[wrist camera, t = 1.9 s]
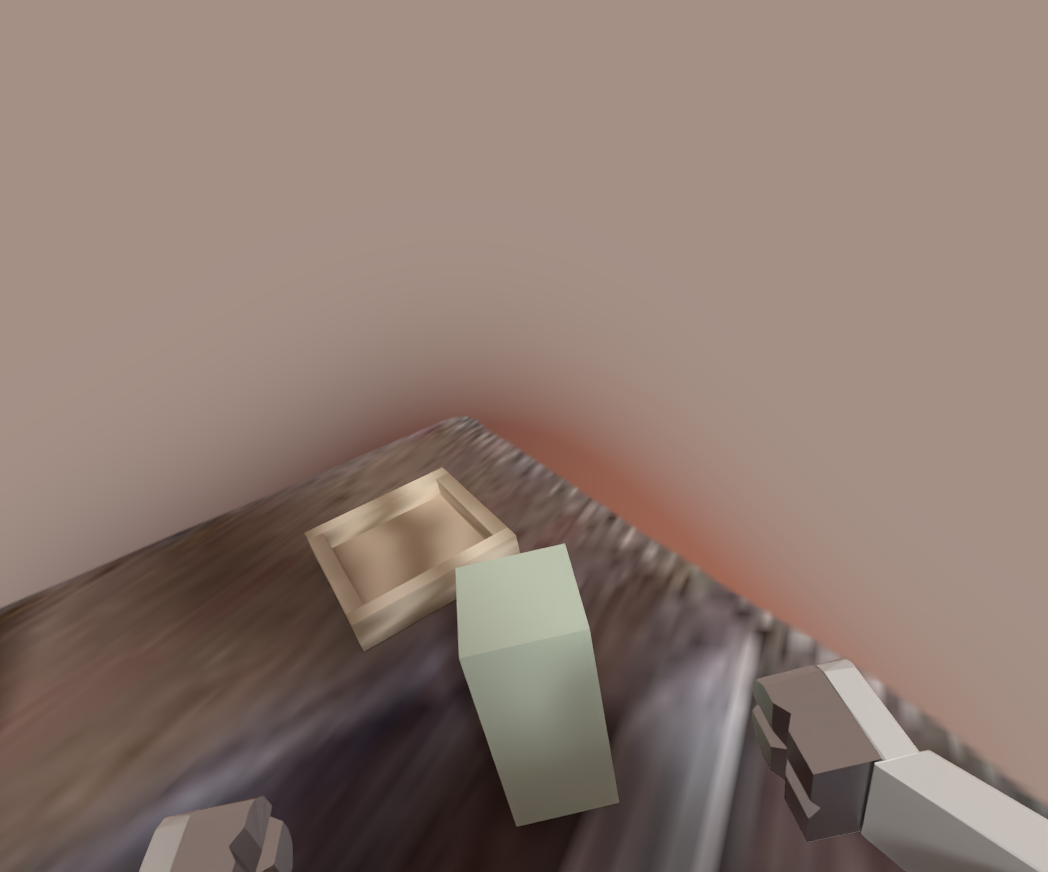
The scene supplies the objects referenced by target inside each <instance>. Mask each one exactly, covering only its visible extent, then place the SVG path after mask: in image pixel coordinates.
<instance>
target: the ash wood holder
mask: <svg viewBox="0 0 1048 872" xmlns="http://www.w3.org/2000/svg"><path fill="white" fill-rule="evenodd" d="M305 536H306V538H307V540H308V542H309V544H310V546H311V549H312V551H313V553H314V555H315V557H316V559H317V561H318V563H319V565H320V567H321V569H322V571H323V573H324V575H325V577H326V579H327V581H328V583H329V585H330V587H331V589H332V591H333V592H334V594H335V596H336V598H337V600H338V602H339V604H340V606H341V608H342V610H343V612H344V614H345V616H346V618H347V620H348V622H349V624H350V626H351V628H352V630H353V632H354V634H355V636H356V638H357V640H358V642H359V644H360V645H361V647H362V649H363V651H364V652H365V651H366V650H368V649H370V648H372V647H373V646H375V645H377V644H379V643H380V642H382V641H384V640H386V639H387V638H389V637H391V636H393V635H394V634H396V633H398V632H400V631H401V630H403V629H405V628H407V627H408V626H410V625H412V624H414V623H415V622H417V621H419V620H421V619H422V618H424V617H426V616H428V615H429V614H431V613H433V612H434V611H436V610H438V609H440V608H441V607H443V606H445V605H447V604H448V603H450V602H452V601H454V600H455V599H457V597H456V572H455V568H457V567H462V566H466V565H471V564H475V563H480V562H484V561H489V560H493V559H498V558H502V557H507V556H511V555H516V554H520V551H519V547H518V543H517V538H516V535H515V534H514V533H513V532H512V531H511V530H510V529H508V528H507V527H506V526H505V525H504V524H503V523H502V522H501V521H500V520H499V519H498V518H497V517H495V516H494V515H493V514H492V513H491V512H490V511H489V510H488V509H487V508H486V507H485V506H484V505H483V504H481V503H480V502H479V501H478V500H477V499H476V498H475V497H474V496H473V495H472V494H471V493H470V492H468V491H467V490H466V489H465V488H464V487H463V486H462V485H461V484H460V483H459V482H458V481H457V480H455V479H454V478H453V477H452V476H451V475H450V474H449V473H448V472H447V471H446V470H445V469H444V468H440V469H438V470H436V471H434V472H432V473H430V474H428V475H426V476H423V477H421V478H419V479H417V480H415V481H413V482H411V483H409V484H406V485H404V486H402V487H400V488H398V489H396V490H394V491H392V492H390V493H387V494H385V495H383V496H381V497H379V498H377V499H375V500H373V501H370V502H368V503H366V504H364V505H362V506H360V507H358V508H356V509H353V510H351V511H349V512H347V513H345V514H343V515H341V516H339V517H336V518H334V519H332V520H330V521H328V522H326V523H324V524H322V525H320V526H317V527H315V528H313V529H311V530H309V531H307V532H305Z"/></svg>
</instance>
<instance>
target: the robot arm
mask: <svg viewBox="0 0 1048 872" xmlns="http://www.w3.org/2000/svg"><path fill="white" fill-rule="evenodd" d="M753 695H754V697H755V699H756V701H757V703H758V705H757V706H756V707H755V708H754V710H753V726H754V730H755V734H756V738H757V741H758V744H759V746H760V749H761V751H762V754H763V756H764V758H765V760H766V762H767V764H768V766H769V769H770V770H771V771H772V772H774V773H775V774H776V775H778V776H779V777H781V778H782V779H784V780H785V794H784V799H785V801H786V803H787V805H788V806H789V808H790V810H791V812H792V814H793V816H794V818H795V820H796V822H797V824H798V826H799V828H800V830H801V832H802V834H803V836H804V838H805V840H806V842H810V841H815V840H820V839H824V838H829V837H834V836H839V835H844V834H848V833H853V832H858V831H862V832H861V834H862V835H863V836H864V837H865V838H866V839H868V840H869V841H870V842H871V843H872V844H874V845H875V846H876V847H877V848H878V849H880V850H881V851H882V852H883V853H884V854H886V855H887V856H888V857H889V858H890V859H891V860H893V861H894V862H895V863H896V864H897V865H899V866H900V867H901V868H902V869H903V870H905V871H906V872H1048V820H1047V819H1046V818H1044V817H1042V816H1041V815H1039V814H1037V813H1035V812H1034V811H1032V810H1030V809H1029V808H1027V807H1025V806H1024V805H1022V804H1020V803H1018V802H1017V801H1015V800H1013V799H1012V798H1010V797H1008V796H1007V795H1005V794H1003V793H1001V792H1000V791H998V790H996V789H995V788H993V787H991V786H990V785H988V784H986V783H984V782H983V781H981V780H979V779H978V778H976V777H974V776H973V775H971V774H969V773H967V772H966V771H964V770H962V769H961V768H959V767H957V766H956V765H954V764H952V763H950V762H949V761H947V760H945V759H944V758H942V757H940V756H939V755H937V754H935V753H933V752H932V751H930V750H925V751H918V749H917V748H916V747H915V745H914V744H913V743H912V741H911V740H910V739H909V737H908V736H907V735H906V733H905V732H904V731H903V729H902V728H901V727H900V725H899V724H898V723H897V721H896V720H895V719H894V717H893V716H892V715H891V713H890V712H889V711H888V709H887V708H886V707H885V705H884V704H883V703H882V702H881V700H880V699H879V698H878V696H877V695H876V694H875V692H874V691H873V690H872V688H871V687H870V686H869V684H868V683H867V682H866V680H865V679H864V678H863V676H862V675H861V674H860V672H859V671H858V670H857V668H856V667H855V666H854V664H853V663H851V662H850V661H848V660H847V659H838V660H834V661H830V662H826V663H822V664H818V665H814V666H813V665H810V666H806V667H802V668H798V669H794V670H791V671H787V672H783V673H779V674H775V675H771V676H767V677H763V678H759V679H756V680H755V681H754V683H753ZM271 810H272V805H271V804H270V803H269V802H268V801H267V799H266V798H265V797H264V796H259V797H255V798H250V799H246V800H242V801H237V802H233V803H228V804H224V805H220V806H215V807H211V808H207V809H202V810H195V811H191V812H187V813H183V814H179V815H175V816H170V817H166V818H164V820H163V821H162V822H161V824H160V825H159V826H158V828H157V829H156V830H155V832H154V834H153V837H152V840H151V842H150V845H149V847H148V850H147V852H146V855H145V857H144V860H143V862H142V865H141V867H140V870H139V872H292V866H293V842H292V839H291V836H290V832H289V829H288V828H287V826H286V825H285V823H284V822H283V821H281V820H278V819H275V818H273V817H270V814H271Z"/></svg>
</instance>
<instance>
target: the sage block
mask: <svg viewBox="0 0 1048 872" xmlns="http://www.w3.org/2000/svg"><path fill="white" fill-rule="evenodd" d="M455 572H456V597H457V622H458V647H459V660H460V663H461V666H462V669H463V672H464V675H465V678H466V680H467V683H468V686H469V689H470V692H471V695H472V698H473V701H474V704H475V707H476V710H477V713H478V716H479V719H480V721H481V724H482V727H483V730H484V733H485V736H486V739H487V742H488V745H489V748H490V751H491V754H492V757H493V759H494V762H495V765H496V768H497V771H498V774H499V777H500V780H501V783H502V786H503V789H504V792H505V795H506V798H507V800H508V803H509V806H510V809H511V812H512V815H513V818H514V821H515V824H516V827H518V826H522V825H527V824H531V823H535V822H540V821H544V820H548V819H552V818H557V817H561V816H565V815H570V814H574V813H578V812H582V811H587V810H591V809H595V808H600V807H604V806H608V805H612V804H617V803H619V797H618V792H617V786H616V780H615V774H614V768H613V762H612V757H611V751H610V745H609V739H608V733H607V728H606V722H605V716H604V710H603V704H602V698H601V693H600V687H599V681H598V675H597V669H596V663H595V658H594V652H593V646H592V640H591V634H590V629H589V625H588V622H587V618H586V615H585V611H584V608H583V604H582V601H581V598H580V594H579V591H578V587H577V584H576V580H575V577H574V573H573V570H572V566H571V563H570V560H569V556H568V553H567V549H566V546H565V544H561V545H556V546H552V547H547V548H543V549H538V550H534V551H529V552H525V553H520V554H516V555H511V556H507V557H502V558H498V559H493V560H489V561H484V562H480V563H475V564H471V565H466V566H462V567H457V568H455Z"/></svg>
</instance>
